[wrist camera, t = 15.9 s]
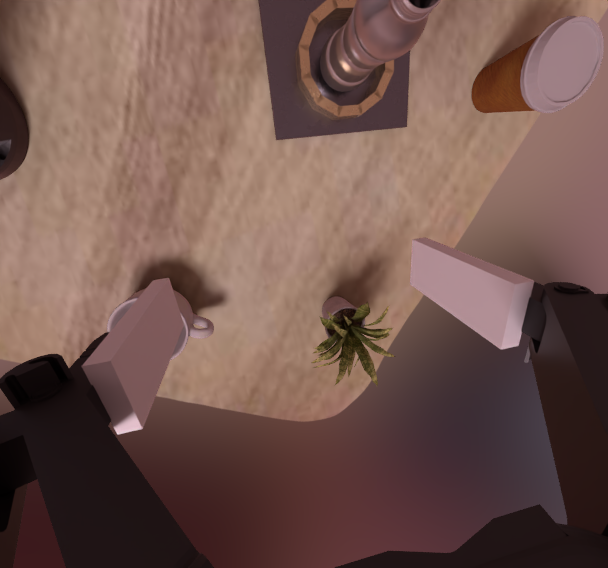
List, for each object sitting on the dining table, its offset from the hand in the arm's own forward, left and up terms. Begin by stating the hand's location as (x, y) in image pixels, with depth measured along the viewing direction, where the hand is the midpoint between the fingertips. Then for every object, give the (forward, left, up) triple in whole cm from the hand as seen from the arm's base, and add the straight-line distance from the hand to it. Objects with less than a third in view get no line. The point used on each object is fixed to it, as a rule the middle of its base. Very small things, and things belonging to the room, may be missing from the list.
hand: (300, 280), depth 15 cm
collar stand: (+13, +17, -32) cm, 38 cm away
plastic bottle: (+13, +17, -31) cm, 38 cm away
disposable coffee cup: (+37, +13, -32) cm, 51 cm away
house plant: (+10, -19, -32) cm, 38 cm away
